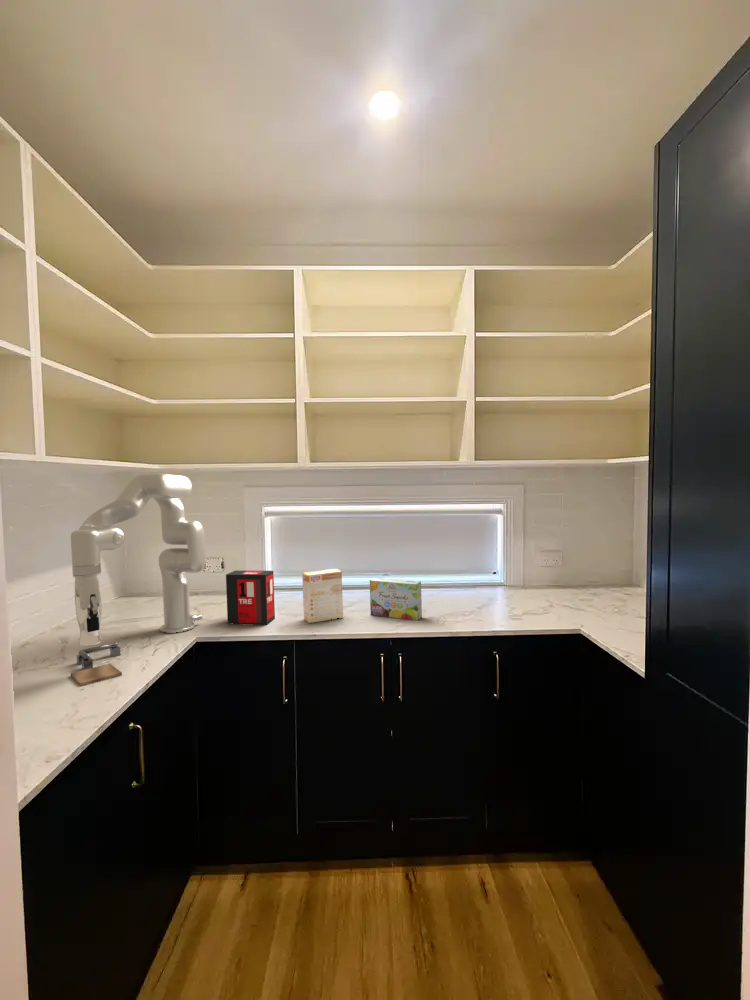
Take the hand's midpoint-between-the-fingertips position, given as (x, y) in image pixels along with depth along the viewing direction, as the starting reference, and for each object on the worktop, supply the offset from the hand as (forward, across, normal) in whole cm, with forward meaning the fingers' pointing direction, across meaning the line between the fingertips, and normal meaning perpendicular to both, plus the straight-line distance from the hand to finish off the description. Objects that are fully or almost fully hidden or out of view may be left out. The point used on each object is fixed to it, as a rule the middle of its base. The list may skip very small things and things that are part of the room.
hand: (89, 628), depth 156 cm
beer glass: (+5, 0, 0) cm, 5 cm away
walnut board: (+14, +4, 0) cm, 14 cm away
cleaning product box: (+14, -12, +62) cm, 65 cm away
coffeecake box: (+14, +7, +84) cm, 85 cm away
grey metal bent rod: (+14, -8, +5) cm, 16 cm away
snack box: (+14, +26, +106) cm, 110 cm away
